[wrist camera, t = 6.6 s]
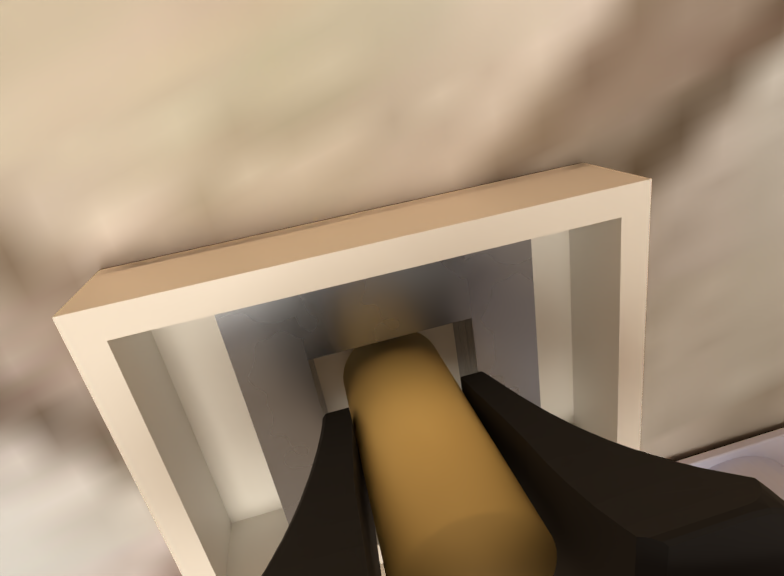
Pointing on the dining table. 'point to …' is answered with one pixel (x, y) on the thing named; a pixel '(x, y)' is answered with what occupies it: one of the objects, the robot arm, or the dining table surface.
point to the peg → (437, 471)
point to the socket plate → (374, 324)
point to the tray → (331, 268)
